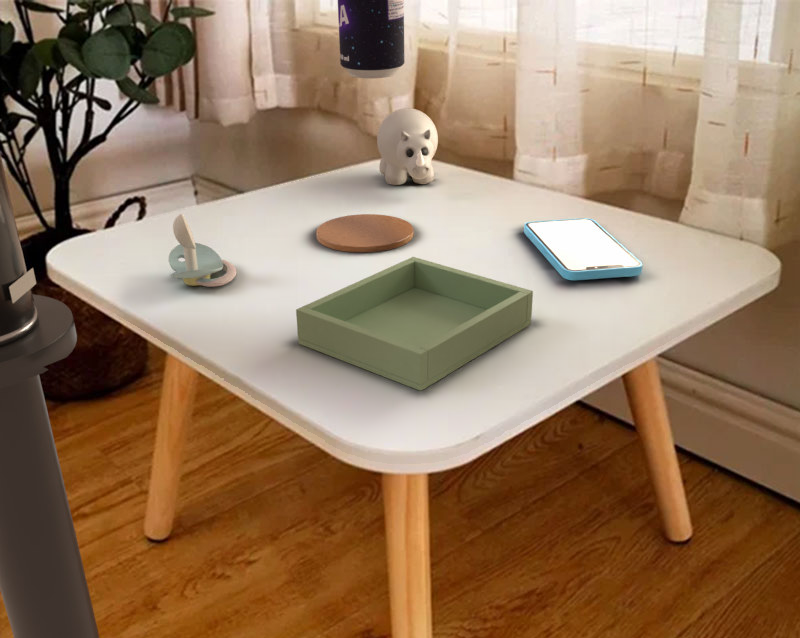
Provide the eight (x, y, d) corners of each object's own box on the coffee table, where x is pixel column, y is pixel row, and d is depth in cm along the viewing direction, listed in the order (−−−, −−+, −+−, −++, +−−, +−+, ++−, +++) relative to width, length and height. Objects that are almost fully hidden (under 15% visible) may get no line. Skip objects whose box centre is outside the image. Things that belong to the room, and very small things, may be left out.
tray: (420, 391, 68) (420, 354, 67) (298, 343, 75) (295, 309, 74) (531, 324, 78) (533, 290, 76) (413, 287, 85) (413, 256, 84)
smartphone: (591, 217, 98) (646, 266, 85) (590, 228, 99) (644, 278, 86) (521, 222, 98) (566, 272, 84) (521, 233, 98) (565, 284, 85)
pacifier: (232, 262, 91) (169, 267, 90) (227, 199, 88) (162, 203, 87) (241, 291, 85) (173, 296, 84) (236, 224, 82) (166, 229, 81)
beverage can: (376, 65, 87) (372, -80, 81) (417, 73, 84) (416, -78, 78) (328, 74, 84) (320, -77, 78) (368, 83, 80) (363, -75, 74)
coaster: (369, 259, 91) (369, 254, 91) (296, 238, 97) (296, 232, 96) (433, 232, 98) (433, 226, 97) (361, 213, 103) (361, 208, 103)
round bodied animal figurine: (387, 203, 106) (385, 127, 102) (374, 174, 117) (372, 103, 112) (450, 200, 107) (451, 124, 103) (431, 170, 117) (432, 100, 113)
